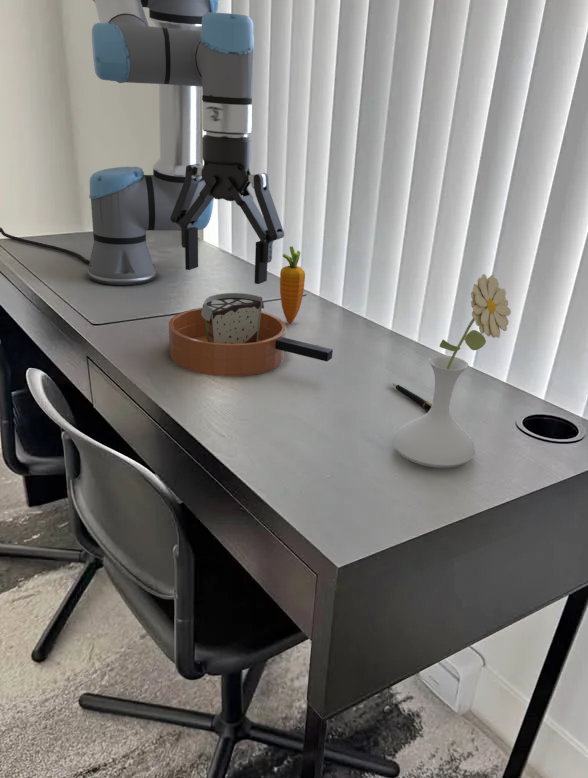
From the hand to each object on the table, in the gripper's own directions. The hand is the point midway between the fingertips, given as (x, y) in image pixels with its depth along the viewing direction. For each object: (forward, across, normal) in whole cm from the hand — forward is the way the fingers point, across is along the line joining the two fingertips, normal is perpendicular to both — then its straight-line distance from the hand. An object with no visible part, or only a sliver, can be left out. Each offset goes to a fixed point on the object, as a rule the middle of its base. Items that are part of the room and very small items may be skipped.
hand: (225, 275), depth 118 cm
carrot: (+14, +1, +23) cm, 27 cm away
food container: (+14, 0, +1) cm, 14 cm away
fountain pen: (+15, +36, +1) cm, 39 cm away
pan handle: (+11, +15, +1) cm, 18 cm away
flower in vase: (+15, +44, -14) cm, 48 cm away
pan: (+14, 0, +1) cm, 14 cm away
